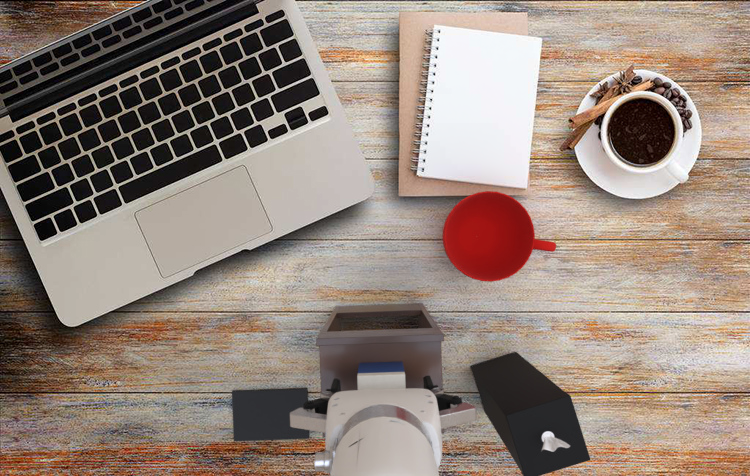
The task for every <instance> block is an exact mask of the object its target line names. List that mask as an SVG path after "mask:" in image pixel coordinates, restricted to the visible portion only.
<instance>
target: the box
mask: <svg viewBox="0 0 750 476" xmlns="http://www.w3.org/2000/svg"><path fill="white" fill-rule="evenodd" d="M357 385H358V390H374V389H406V383H405V372H404V367H403V362H402V361H401V362H372V363H359V368H358V375H357Z"/></svg>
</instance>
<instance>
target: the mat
mask: <svg viewBox="0 0 750 476" xmlns="http://www.w3.org/2000/svg"><path fill="white" fill-rule="evenodd" d="M308 398H309V397H308V387H297V388H296V387H295V388H294V387H293V388H267V389H265V388H263V389H238V390H237V389H236V390H232V391H231V400H232V401H231V402H232V403H231V404H232V429H233V430H232V431H233V433H232V434H233V442H257V441H283V440H284V441H285V440H309V438H310V430H305V429H299V428H293V427H290V412H292V411H294V410H296V409H298V408H303V404H304V403H306V402H307V401H309V399H308Z"/></svg>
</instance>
